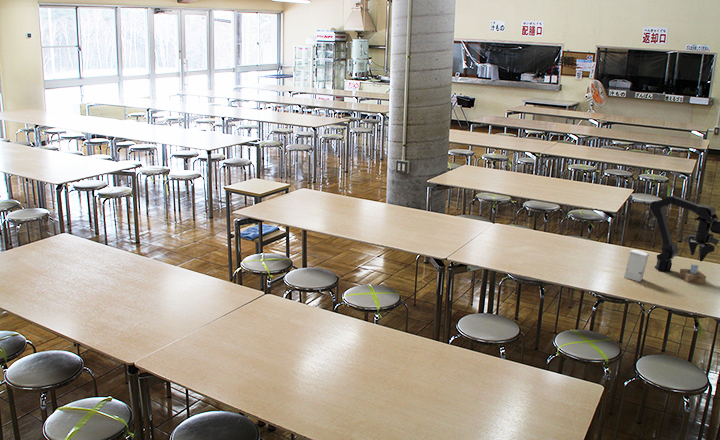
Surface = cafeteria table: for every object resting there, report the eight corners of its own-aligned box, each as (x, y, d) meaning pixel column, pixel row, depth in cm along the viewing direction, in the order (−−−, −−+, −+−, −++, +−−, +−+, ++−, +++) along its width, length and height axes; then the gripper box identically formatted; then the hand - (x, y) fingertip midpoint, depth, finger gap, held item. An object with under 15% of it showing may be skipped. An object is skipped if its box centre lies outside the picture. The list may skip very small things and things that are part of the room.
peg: (689, 280, 312) (693, 266, 310) (686, 278, 315) (690, 264, 313) (696, 280, 312) (699, 266, 310) (693, 278, 315) (696, 264, 313)
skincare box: (623, 277, 311) (629, 251, 306) (627, 274, 315) (632, 248, 311) (640, 282, 306) (646, 255, 301) (643, 279, 310) (649, 252, 306)
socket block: (687, 282, 309) (688, 275, 308) (678, 275, 318) (680, 268, 317) (704, 283, 309) (706, 276, 308) (695, 276, 318) (697, 269, 316)
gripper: (728, 236, 297) (721, 265, 301) (709, 225, 314) (703, 253, 319) (706, 235, 297) (699, 264, 302) (688, 224, 315) (682, 251, 319)
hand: (696, 258), depth 310 cm, fingers open, 9 cm apart
